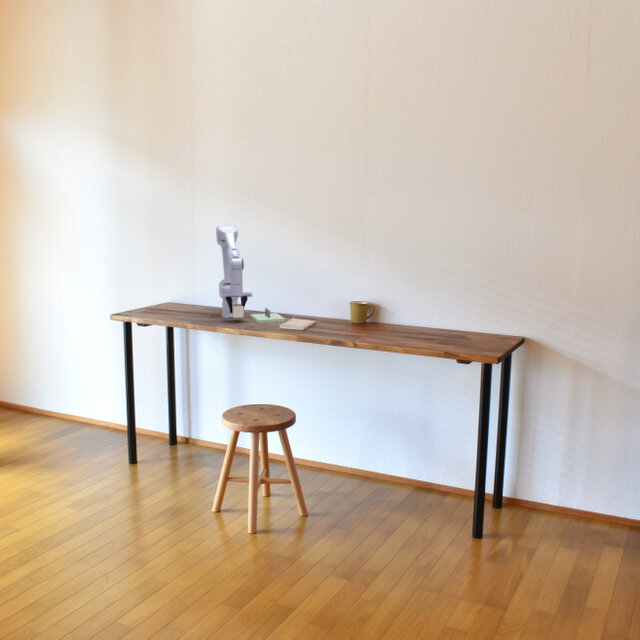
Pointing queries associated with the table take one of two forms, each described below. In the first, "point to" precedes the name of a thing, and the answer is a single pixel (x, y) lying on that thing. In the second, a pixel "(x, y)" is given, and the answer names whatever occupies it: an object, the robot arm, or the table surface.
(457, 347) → the table surface
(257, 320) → the pin plate
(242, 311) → the beige hollow block
